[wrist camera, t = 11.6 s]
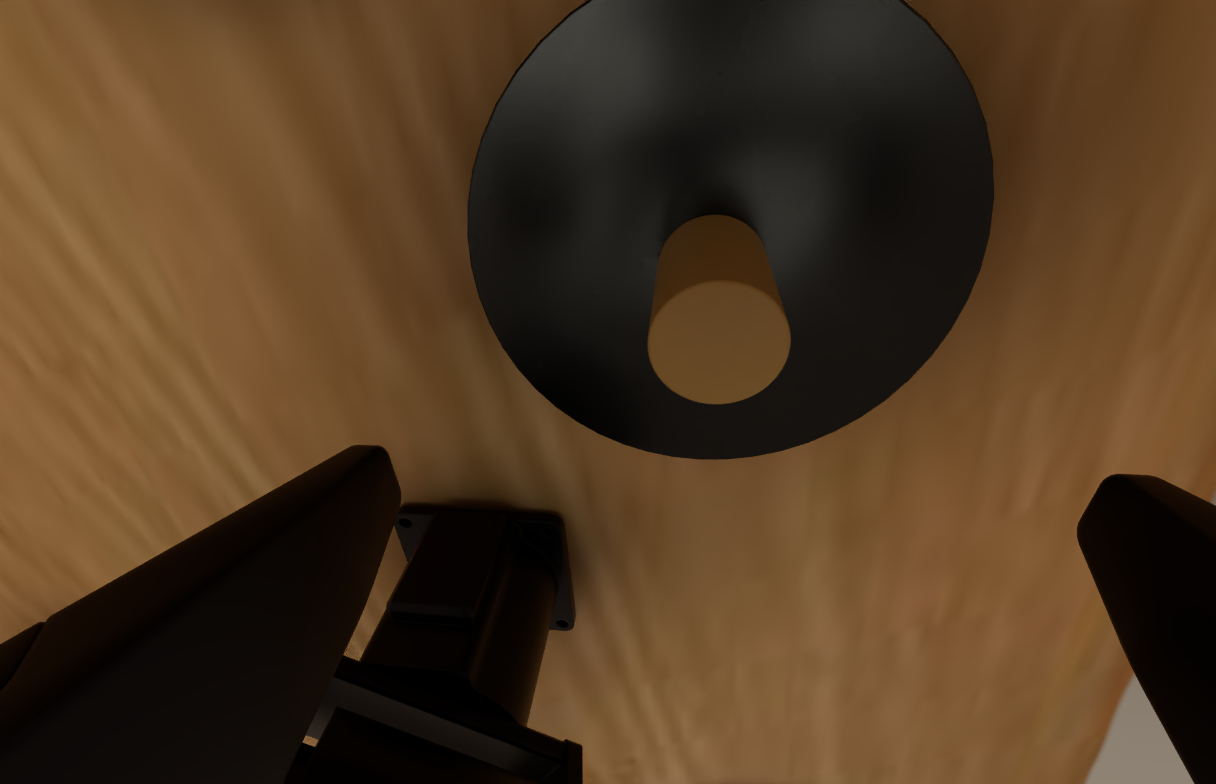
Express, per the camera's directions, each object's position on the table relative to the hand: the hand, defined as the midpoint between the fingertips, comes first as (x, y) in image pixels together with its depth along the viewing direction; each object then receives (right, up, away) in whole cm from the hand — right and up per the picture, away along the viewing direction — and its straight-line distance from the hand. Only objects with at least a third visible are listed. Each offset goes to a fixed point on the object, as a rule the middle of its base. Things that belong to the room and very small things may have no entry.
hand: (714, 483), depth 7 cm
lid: (+1, +5, +7) cm, 8 cm away
